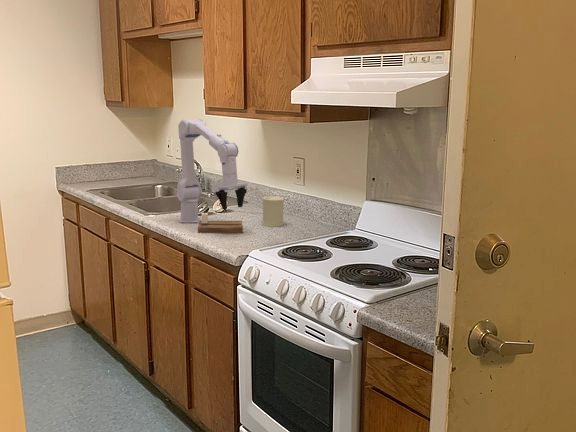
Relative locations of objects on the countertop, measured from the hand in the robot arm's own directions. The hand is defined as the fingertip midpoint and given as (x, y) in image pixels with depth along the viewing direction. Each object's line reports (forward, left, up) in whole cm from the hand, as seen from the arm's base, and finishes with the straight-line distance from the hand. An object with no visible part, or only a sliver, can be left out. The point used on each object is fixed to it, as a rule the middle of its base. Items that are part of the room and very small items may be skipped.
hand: (232, 208), depth 237 cm
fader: (-8, -11, -8) cm, 16 cm away
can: (-17, +18, -11) cm, 27 cm away
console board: (-8, -5, -11) cm, 14 cm away
